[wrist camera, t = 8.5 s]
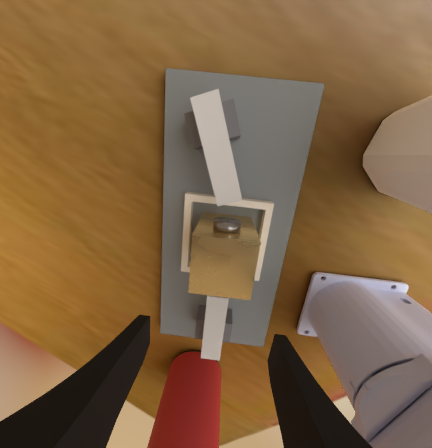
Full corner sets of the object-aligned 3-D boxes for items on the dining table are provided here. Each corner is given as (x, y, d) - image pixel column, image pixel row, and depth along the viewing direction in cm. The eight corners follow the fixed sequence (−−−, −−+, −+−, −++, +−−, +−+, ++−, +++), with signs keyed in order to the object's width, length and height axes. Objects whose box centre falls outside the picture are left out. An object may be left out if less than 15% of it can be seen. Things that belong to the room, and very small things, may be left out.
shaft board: (319, 88, 16) (356, 58, 11) (261, 339, 24) (269, 382, 19) (169, 73, 16) (145, 38, 11) (163, 326, 24) (147, 366, 20)
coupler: (251, 210, 18) (262, 234, 12) (243, 264, 20) (249, 307, 14) (203, 205, 18) (192, 226, 13) (199, 259, 20) (187, 299, 14)
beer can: (177, 386, 27) (140, 548, 16) (166, 349, 25) (115, 504, 14) (224, 383, 27) (222, 551, 15) (217, 346, 25) (208, 505, 13)
